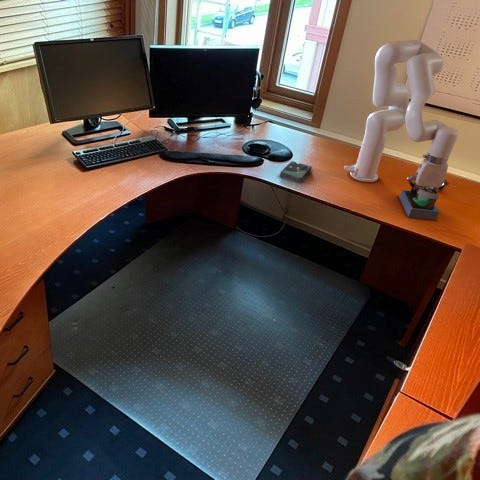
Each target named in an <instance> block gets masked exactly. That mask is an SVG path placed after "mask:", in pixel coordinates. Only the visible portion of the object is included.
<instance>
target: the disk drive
mask: <svg viewBox="0 0 480 480" xmlns="http://www.w3.org/2000/svg"><path fill="white" fill-rule="evenodd" d="M312 168H313V166H311V165H308V164H304V163H297V162H296V161H294V160H291V161H290V162H289V163H288V164H287V165H286V166H285V167H284V168H283V169H282V170H281V171H280V173H279V177H280V178H284V179H286V180H290V181H293V182H297V183H301V182H302V181H304V179H306V178H307V176H308V175H309V174H310V173H311V171H312Z"/></svg>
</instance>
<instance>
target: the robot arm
mask: <svg viewBox="0 0 480 480" xmlns="http://www.w3.org/2000/svg"><path fill="white" fill-rule="evenodd" d="M403 63H406V65H405V68H406V69H405V70H406V75H407V81H408V86H409V88H408V86H407V85H406V84H405V83H403V82H397V76H398V74H397V68H396V66H395V64H403ZM443 67H444V60H443V57H442V56H441V54H440V53H439V52H437V51H436V50H434V48H432V47H430V46H428V45H427V44H426V43H424V42H422V41H421V40H417V39H408V40H396V41H391V42H387V43H385V44H383V45H382V46H381V47H380V48H379V49H378V50H377V52H376V55H375V57H374V80H373V81H374V82H373V89H372V104H373V106H375V108H376V107H377V108H388V109H382V110H376V111H374V112H372V113H370V114H369V116H368V117H367V118H366V122H365V132H364V135H363V140H362V143H361V146H360V149H359V153H358V157H357V159H356V163H354V164H353V165H346V164H345V165H344V166H343V170H346V171H347V172H349V175H350V177H352V178H353V179H355V180H356V181H359V182H365V183H374V182H377V181H378V179H379V175H378V174H377V171H378V169H379V165H380V163H381V162H380V161H381V159H382V157H383V152H384V149H385V147H386V143H387V138H386V133H389V132H393V131H399V130H401V129H402V128H403V127H404V126H405V128H406V132H407V135H408V137H409V139H410V140H411V141H412V142H415V143H421V142H426V141H432V142H431V144H430V147H429V149H428V152H426V154H422V158H423V160H422V161H421V163H420V164H419V166H418V168H417V169H416V171H415V173H414V174H412V175H410V176H408V177H407V178H406V181H407V182H408V184H409V186H410V187H411V188H410V196H411V198H414V196H415V194H416V191H417V190H416V188H417V187H419V186H428V187H434V189H432V190H433V192H434V193H435V194H438V193H439V192H440V191H441V190H443V189H444V188H446V187H447V186H449V185H450V183H449V182H448V180H447V179H446V176H447V174H448V169H449V163H448V161H449V158H450V156H451V154H452V151H453V149H454V147H455V144H456V142H457V139H458V137H459V131H458V130H457V129H456V128H453V127H450V126H448V125H447V124H445V123H443V122H442V121H440V120H436V119H434V120H432V119H431V120H426V121H424V120H423V109H424V107H425V105H426V103H427V101H429V100H430V99H431V98H432V97H433V96H434V95H435V94H436V87H435V86H436V85H435V79H434V76H435V75H437V74H439V73H440V72H441V71H442V69H443ZM413 181H414V182H413ZM439 190H440V191H439Z"/></svg>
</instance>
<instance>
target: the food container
mask: <svg viewBox="0 0 480 480" xmlns="http://www.w3.org/2000/svg"><path fill="white" fill-rule="evenodd" d="M416 190H417V191H416V194H415V196H414V198H413V200H412V201H411V205H412V207H413V208H417V209H425V210H432V208H433V206H434V204H435V205H436V202H437V200H440V199H439V198H440V193H437V194H435V193H434V192H433V190H432V189H431V188H429V187H428V186H419V187H417V188H416Z"/></svg>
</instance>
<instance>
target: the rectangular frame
mask: <svg viewBox="0 0 480 480" xmlns="http://www.w3.org/2000/svg"><path fill="white" fill-rule="evenodd" d="M410 191H411V189H410V190H409V189H402V190H401V192H400V194H399V196H398V198H399V200H400V202H401V205H402V207H403V209H404V211H405V213H406V215H407V217H408V218H413V219H420V220H421V219H423V220H430V221H436V220H437V219H438V216H439V213H440V210H439V209H438V208H437V206H436V203H435V204H434V206H433V208H432V210H425V209H417V208H413V207H412V205H411V204H412V202H411V200H413V198H411V196H410Z"/></svg>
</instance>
